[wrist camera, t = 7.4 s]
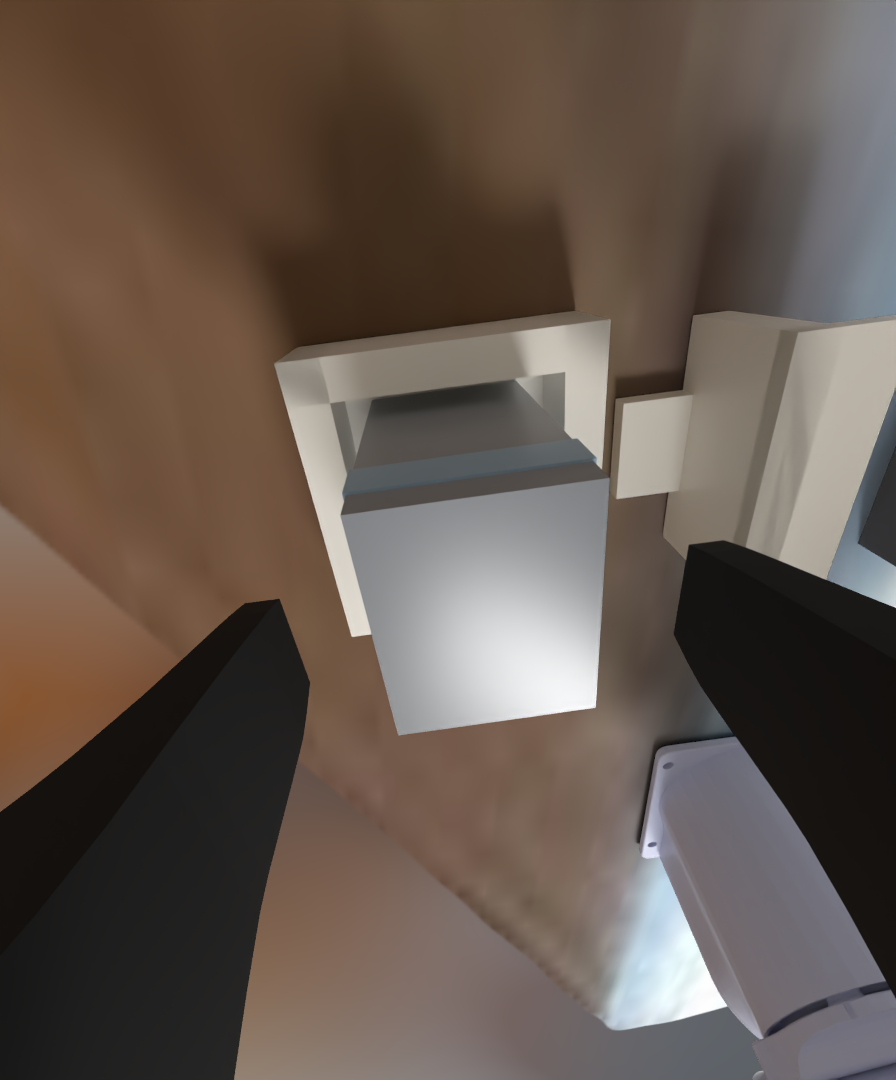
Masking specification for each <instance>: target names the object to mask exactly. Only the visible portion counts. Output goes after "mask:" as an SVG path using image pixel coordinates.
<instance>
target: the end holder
mask: <svg viewBox="0 0 896 1080" xmlns="http://www.w3.org/2000/svg"><path fill="white" fill-rule="evenodd" d="M610 323H611V319H607V318H603V317H599V316H595V315H591V314H587V313H583V312H579V311H569V312H562V313H554V314H546V315H539V316H531V317H523V318H516V319H508V320H500V321H493V322H485V323H478V324H470V325H462V326H455V327H447V328H439V329H432V330H424V331H416V332H409V333H401V334H394V335H386V336H378V337H371V338H363V339H355V340H348V341H340V342H332V343H325V344H317V345H310V346H302V347H297V348H295V349H294V350H292V351H291V352H290V353H288V354H287V355H285V356H284V357H282V358H281V359H280V360H278V361H277V362H275V363H274V365H275V369H276V372H277V376H278V379H279V383H280V386H281V390H282V393H283V397H284V400H285V404H286V407H287V411H288V414H289V418H290V421H291V425H292V428H293V432H294V435H295V439H296V442H297V446H298V449H299V453H300V456H301V460H302V463H303V467H304V470H305V474H306V477H307V481H308V484H309V488H310V491H311V495H312V499H313V502H314V506H315V509H316V513H317V516H318V520H319V523H320V527H321V530H322V534H323V537H324V541H325V544H326V548H327V551H328V555H329V558H330V562H331V565H332V569H333V572H334V576H335V579H336V583H337V586H338V590H339V593H340V597H341V600H342V604H343V607H344V611H345V614H346V618H347V621H348V625H349V628H350V632H351V635H352V637H354V636H362V635H369V634H371V630H370V626H369V622H368V619H367V615H366V611H365V607H364V604H363V600H362V596H361V592H360V588H359V585H358V581H357V577H356V573H355V569H354V566H353V562H352V558H351V554H350V550H349V547H348V543H347V539H346V535H345V531H344V528H343V524H342V520H341V516H340V514H341V511H342V507H343V504H344V499H343V495H342V491H343V488H344V484H345V481H346V478H347V474H348V471H349V470H351V469H353V467H354V464H355V460H356V456H357V453H358V449H359V446H360V442H361V438H362V435H363V431H364V427H365V424H366V420H367V417H368V413H369V409H370V406H371V402H372V400H377V399H384V398H391V397H399V396H406V395H413V394H420V393H428V392H435V391H442V390H449V389H457V388H464V387H471V386H478V385H486V384H493V383H500V382H507V381H515V380H516V381H517V382H518V383H519V384H520V385H521V386H522V387H523V388H524V389H525V391H526V392H527V393H528V394H529V395H530V396H531V397H532V398H533V399H534V400H535V401H536V402H537V403H538V404H539V405H540V406H541V407H542V408H543V409H544V410H545V411H546V412H547V413H548V414H549V415H550V416H551V418H552V419H553V420H554V421H555V422H556V423H557V424H558V425H559V426H560V427H561V428H562V429H563V430H564V431H565V432H566V433H567V434H568V435H569V436H570V437H571V438H572V439H575V438H578V439H579V440H580V441H581V442H582V443H583V444H584V445H585V446H586V447H587V448H588V449H589V451H590V452H591V453H592V454H593V455H594V456H595V457H596V458H597V463H596V464H597V465H598V466H599V467H600V468H601V469H602V461H603V444H604V427H605V409H606V392H607V375H608V358H609V340H610Z"/></svg>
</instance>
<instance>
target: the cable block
mask: <svg viewBox="0 0 896 1080" xmlns="http://www.w3.org/2000/svg"><path fill="white" fill-rule="evenodd" d="M858 544H860V545H862V546H863V547H865V548H866V549H868V550H870V551H871V552H873V553H875V554H876V555H878V556H880V557H881V558H883V559H885V560H886V561H888V562H889V563H891V564H893V565H894V566H896V447H895V450H894V452H893V455H892V457H891V460H890V462H889V465H888V468H887V470H886V473H885V475H884V478H883V480H882V483H881V486H880V488H879V491H878V493H877V496H876V498H875V501H874V504H873V506H872V509H871V511H870V514H869V516H868V519H867V522H866V524H865V527H864V529H863V532H862V534H861V537H860V540H859V542H858Z"/></svg>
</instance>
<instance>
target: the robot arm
mask: <svg viewBox="0 0 896 1080" xmlns="http://www.w3.org/2000/svg"><path fill="white" fill-rule="evenodd" d="M674 636H675V638H676V640H677V642H678V644H679V646H680V648H681V650H682V652H683V654H684V656H685V658H686V660H687V662H688V664H689V666H690V668H691V669H692V671H693V673H694V675H695V677H696V679H697V681H698V682H699V684H700V686H701V687H702V689H703V690H704V692H705V693H706V695H707V696H708V698H709V699H710V701H711V702H712V703H713V705H714V706H715V708H716V709H717V711H718V712H719V714H720V715H721V716H722V718H723V719H724V721H725V722H726V724H727V725H728V727H729V728H730V729H731V731H732V732H733V734H734V735H735V736H734V737H727V738H720V739H713V740H705V741H698V742H691V743H684V744H676V745H669V746H664V747H662V748H660V749H659V750H658V751H657V753H656V756H655V761H654V767H653V772H652V778H651V784H650V789H649V795H648V800H647V806H646V812H645V817H644V823H643V828H642V834H641V840H640V845H639V851H640V853H641V856H642V857H644V858H655V857H660V859H661V861H662V863H663V866H664V868H665V870H666V873H667V875H668V877H669V880H670V882H671V884H672V887H673V889H674V891H675V894H676V896H677V898H678V901H679V903H680V905H681V908H682V910H683V912H684V915H685V917H686V919H687V922H688V924H689V926H690V929H691V931H692V933H693V936H694V938H695V940H696V943H697V945H698V947H699V950H700V952H701V954H702V957H703V959H704V961H705V964H706V966H707V968H708V971H709V973H710V975H711V978H712V980H713V982H714V984H715V986H716V988H717V990H718V992H719V993H720V995H721V997H722V998H723V1000H724V1001H725V1003H726V1004H727V1006H728V1007H729V1008H730V1009H731V1011H732V1012H733V1013H734V1015H735V1016H736V1017H737V1018H738V1019H739V1020H740V1021H741V1022H742V1023H743V1024H744V1025H745V1026H746V1027H747V1028H748V1029H749V1030H750V1031H751V1032H752V1033H753V1034H754V1035H755V1036H757V1037H758V1038H759V1039H760V1040H758V1041H754V1042H752V1046H753V1049H754V1051H755V1053H756V1055H757V1058H758V1060H759V1062H760V1064H761V1067H762V1069H763V1071H759V1072H757V1073H756V1074H755V1075H754V1076H753V1080H896V608H895V607H892V606H889V605H887V604H884V603H882V602H879V601H877V600H874V599H872V598H869V597H867V596H864V595H862V594H859V593H857V592H854V591H852V590H850V589H847V588H845V587H842V586H840V585H837V584H835V583H832V582H830V581H828V580H825V579H823V578H820V577H818V576H816V575H813V574H811V573H808V572H806V571H803V570H801V569H799V568H796V567H794V566H791V565H789V564H786V563H784V562H782V561H779V560H777V559H774V558H772V557H769V556H767V555H764V554H762V553H759V552H756V551H754V550H751V549H749V548H746V547H743V546H740V545H737V544H734V543H731V542H728V541H725V540H720V541H713V542H705V543H698V544H690V545H689V546H688V552H687V558H686V564H685V570H684V576H683V582H682V588H681V594H680V600H679V605H678V611H677V617H676V623H675V629H674ZM309 687H310V681H309V679H308V676H307V673H306V670H305V668H304V665H303V662H302V659H301V657H300V654H299V651H298V648H297V646H296V643H295V640H294V637H293V635H292V632H291V629H290V627H289V624H288V621H287V618H286V616H285V613H284V610H283V607H282V605H281V602H280V599H275V600H267V601H260V602H252V603H245V604H244V605H242V606H241V607H240V608H239V609H237V610H236V611H235V612H234V613H233V614H231V615H230V616H229V617H228V618H227V619H226V620H225V621H224V622H222V623H221V624H220V625H219V626H218V627H217V628H216V629H215V630H214V631H213V632H211V633H210V634H209V635H208V636H207V637H206V638H205V639H204V640H203V641H202V642H201V643H200V644H198V645H197V646H196V647H195V648H194V649H193V650H192V651H191V652H190V653H189V654H188V655H187V656H186V657H184V658H183V659H182V660H181V661H180V662H179V663H178V664H177V665H176V666H175V667H174V668H172V669H171V670H170V671H169V672H168V673H167V674H166V675H165V676H164V677H163V678H162V679H160V680H159V681H158V682H157V683H156V684H155V685H154V686H153V687H152V688H151V689H150V690H148V691H147V692H146V693H145V694H144V695H143V696H142V697H141V698H139V699H138V700H137V701H136V702H135V703H134V704H132V705H131V706H130V707H129V708H128V709H127V710H125V711H124V712H123V713H122V714H121V715H120V716H119V717H117V718H116V719H115V720H114V721H113V722H112V723H110V724H109V725H108V726H107V727H106V728H105V729H103V730H102V731H101V732H100V733H99V734H97V735H96V736H95V737H94V738H93V739H92V740H90V741H89V742H88V743H87V744H86V745H85V746H83V747H82V748H81V749H80V750H79V751H78V752H76V753H75V754H74V755H73V756H72V757H70V758H69V759H68V760H67V761H65V762H64V763H63V764H62V765H60V766H59V767H58V768H57V769H55V770H54V771H53V772H52V773H50V774H49V775H48V776H47V777H46V778H44V779H43V780H42V781H40V782H39V783H38V784H37V785H35V786H34V787H33V788H31V789H30V790H29V791H28V792H26V793H25V794H24V795H22V796H21V797H20V798H18V799H17V800H16V801H14V802H13V803H12V804H11V805H9V806H8V807H6V808H5V809H4V810H2V811H1V812H0V1080H234V1075H235V1068H236V1061H237V1054H238V1047H239V1041H240V1034H241V1027H242V1021H243V1014H244V1006H245V1000H246V992H247V987H248V981H249V975H250V969H251V963H252V957H253V951H254V945H255V939H256V933H257V927H258V921H259V915H260V910H261V905H262V901H263V896H264V892H265V887H266V883H267V878H268V874H269V870H270V866H271V862H272V858H273V855H274V851H275V847H276V843H277V839H278V835H279V831H280V827H281V823H282V820H283V816H284V812H285V808H286V804H287V800H288V796H289V792H290V789H291V785H292V781H293V777H294V773H295V768H296V765H297V761H298V757H299V753H300V749H301V745H302V740H303V735H304V728H305V721H306V714H307V705H308V696H309Z"/></svg>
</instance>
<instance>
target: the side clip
mask: <svg viewBox="0 0 896 1080" xmlns="http://www.w3.org/2000/svg"><path fill="white" fill-rule="evenodd" d="M895 388H896V315H889V316H882V317H874V318H866V319H859V320H851V321H844V322H836V323H820V322H812V321H805V320H797V319H789V318H782V317H774V316H766V315H759V314H751V313H743V312H736V311H723V312H715V313H707V314H700V315H693V320H692V327H691V334H690V341H689V349H688V356H687V363H686V370H685V377H684V385H683V390H678V391H671V392H663V393H655V394H648V395H640V396H633V397H625V398H618V399H616V402H615V416H614V431H613V446H612V460H611V475H610V490H609V492H610V493H611V494H612V495H613V496H614V497H615V498H616V499H621V498H629V497H636V496H644V495H651V494H659V493H666V492H669V493H668V500H667V508H666V515H665V522H664V529H663V537H664V538H665V539H666V540H667V541H668V542H669V543H670V544H671V545H672V546H673V547H674V548H675V550H676V551H677V552H678V553H679V554H680V555H681V556H682V557H683V558H684V559H685V560H686V558H687V552H688V546H689V545H690V544H698V543H705V542H713V541H720V540H725V541H728V542H731V543H734V544H737V545H740V546H743V547H746V548H749V549H751V550H754V551H756V552H759V553H762V554H764V555H767V556H769V557H772V558H774V559H777V560H779V561H782V562H784V563H786V564H789V565H791V566H794V567H796V568H799V569H801V570H803V571H806V572H808V573H811V574H813V575H816V576H818V577H820V578H823V579H825V580H826V578H827V576H828V573H829V570H830V567H831V564H832V562H833V559H834V556H835V553H836V551H837V548H838V545H839V542H840V540H841V537H842V534H843V531H844V529H845V526H846V523H847V520H848V518H849V515H850V512H851V509H852V506H853V504H854V501H855V498H856V495H857V493H858V490H859V487H860V484H861V482H862V479H863V476H864V473H865V471H866V468H867V465H868V462H869V459H870V457H871V454H872V451H873V448H874V446H875V443H876V440H877V437H878V435H879V432H880V429H881V426H882V424H883V421H884V418H885V415H886V413H887V410H888V407H889V404H890V401H891V399H892V396H893V393H894V390H895Z"/></svg>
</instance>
